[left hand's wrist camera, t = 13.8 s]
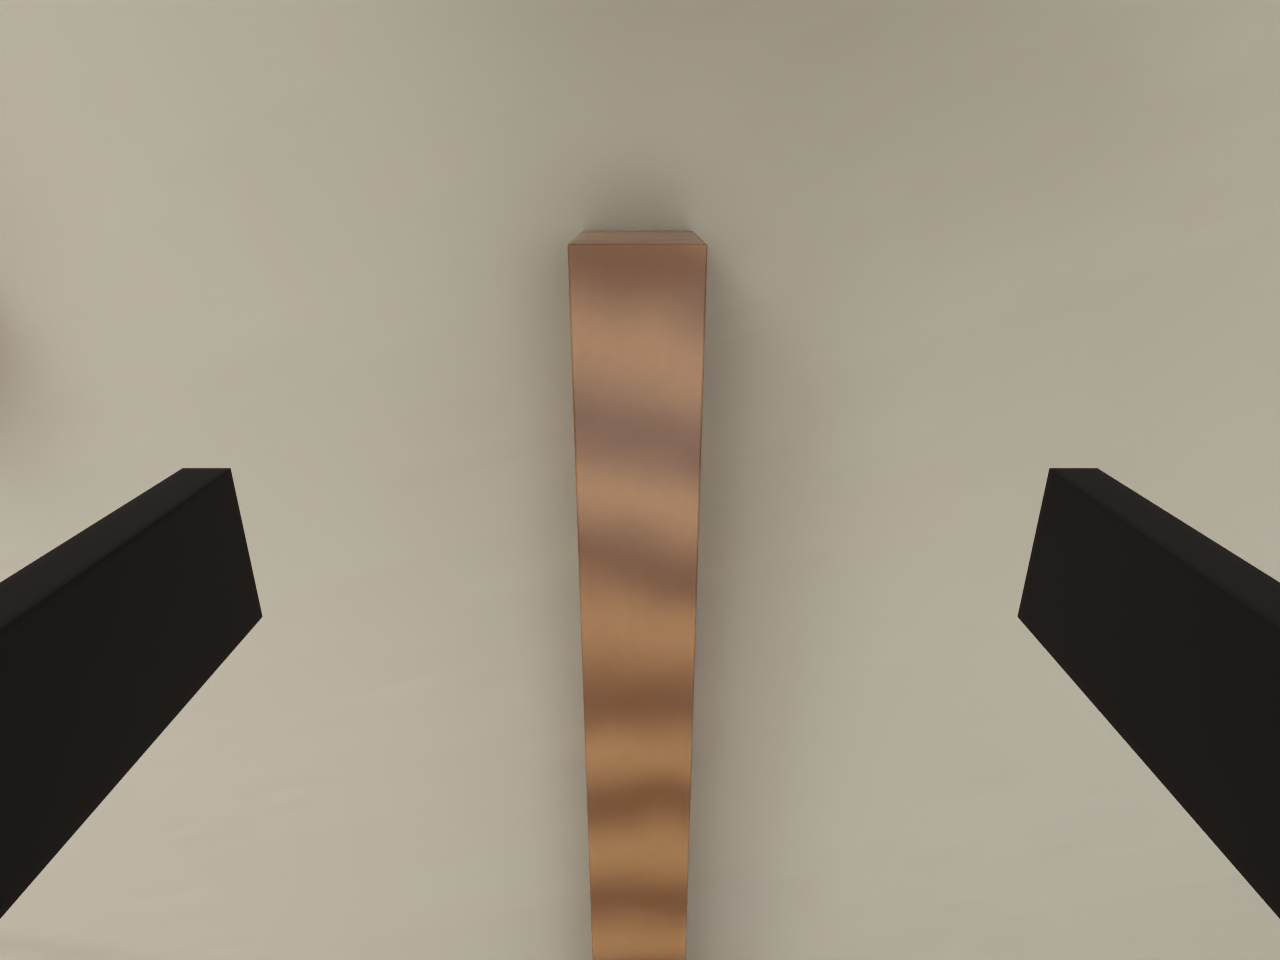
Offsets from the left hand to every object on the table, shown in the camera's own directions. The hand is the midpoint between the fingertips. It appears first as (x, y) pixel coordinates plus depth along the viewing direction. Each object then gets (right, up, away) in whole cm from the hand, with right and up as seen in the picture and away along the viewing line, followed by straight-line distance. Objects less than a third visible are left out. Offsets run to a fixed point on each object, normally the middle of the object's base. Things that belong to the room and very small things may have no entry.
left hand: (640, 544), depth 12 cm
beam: (0, -18, +33) cm, 38 cm away
